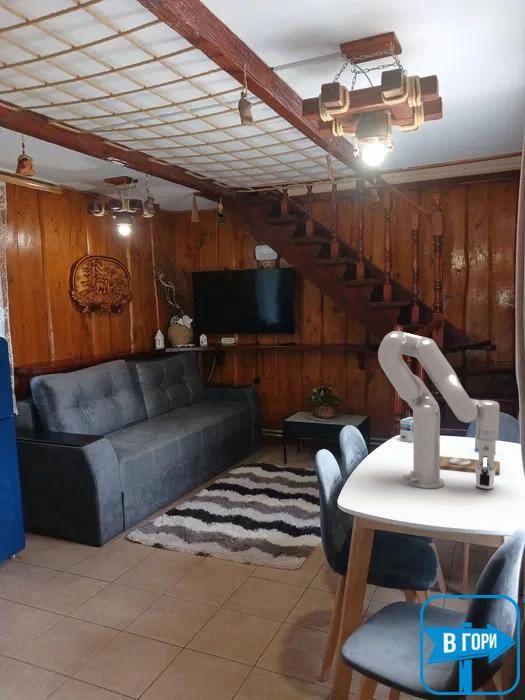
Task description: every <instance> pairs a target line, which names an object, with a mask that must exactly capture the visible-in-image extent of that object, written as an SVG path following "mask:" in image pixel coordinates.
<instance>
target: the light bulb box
mask: <svg viewBox="0 0 525 700" xmlns="http://www.w3.org/2000/svg"><path fill="white" fill-rule="evenodd" d="M399 425H400V426H399V427H400V428H399V438H400V442H405V443H412V444H413V416H408V417H404V418H402V419H400V421H399Z"/></svg>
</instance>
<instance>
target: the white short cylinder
mask: <svg viewBox="0 0 525 700" xmlns="http://www.w3.org/2000/svg"><path fill="white" fill-rule="evenodd" d="M482 466H483V465H482ZM487 466H488V465H487ZM475 469H476V473H475V485H476V487H478V488H481V489H493V487H494V483H495V482H494V481H495V476H496V475H495V470H496V469H495V468H494V467H493V468H492V467H490V466H489V475H490V479H489V486H484V485H480V474H481V466H479V465H476V466H475ZM487 470H488V468H487Z"/></svg>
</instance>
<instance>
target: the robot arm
mask: <svg viewBox="0 0 525 700" xmlns="http://www.w3.org/2000/svg"><path fill="white" fill-rule="evenodd" d="M402 355H405V356H409V357H413V358H416V359H417V360H418V362H419V364H420V366H422V368H423V369H424V371H425V372H426V374H427V376H428V377H429V378H430V380H431V382H432V383H433V384H434V386H435V388H436V389H437V390H438V392H439V393H440V394H441V396H442V397H443V399H444V400H445V401H446V403H447V405H448V407H449V408H450V409H451V411H452V413H453V414H454V415H455V417H456V418H457V420H458V421H460V422H463V423H467V424H468V423H469V424H470V423H472V422H474V421H476V423H475V426H476V427H475V433H476V438H477V439H479V452H478V460H479V466H481V474H480V485H484V486H489V479H490V475H489V466H490V467H492V468H493V467H494V461H495V456H496V455H495V454H496V444H495V441H498V440H499V425H500V424H499V423H500V403H499V402H498V401H495V400H489V399H482V400H480V399H474V398H470V397H469V395H468V393H467V392H466V390H465V389H464V387H463V386H462V384H461V382H460V380H459V377H458V375H457V373H456V371H455V370H454V369H453V367H452V366H451V364H450V363H449V362H448V360H447V359H446V357H445V356H444V354H443V353H442V351H441V350H440V348H439V347H438V345H437V343H436V342H435V340H433V339H432V338H429V337H425V336H420V335H417V334H411V333H408V332H404V331H400V330H393V331H391V332H389V333H387V334H386V335H385V336H384V337H383V339H382V341H381V343H380V344H379V347H378V352H377V357H378V359H377V360H378V362H379V365H380V367H381V369H382V370H383V372H384V374H385V375H386V377H387V379H388V380H389V382H390V383H391V384H392V386H393V387H394V389H395V390H396V392H397V394H398V395H399V397H400V398H401V399H402V400H404V402H406V403H407V404H408V406H409V407H410V408H411V409H412V417H413V443H412V444H413V445H412V446H413V451H412V452H413V454H412V455H413V456H412V457H413V462H412V463H413V470H410V474H404V475H402V480H403V481H405V482H406V481H409V484H410V485H412V486H414V487H416V488H420V489H421V488H422V489H438V488H442V487H444V485H445V481H444V480H443V479H442V478H441V477H440V476H441V474H440V473H441V469H440V456H441V453H440V452H441V450H440V447H441V443H440V441H441V439H440V437H441V436H440V434H441V433H440V431H441V412H440V406H439V403H438V402H437V401H436V399H435V397H434V396H433V394H432V393H431V392H430V390H429V388H428V387H427V386H426V385H425V383H424V381H423V380H422V379H421V378H420V377H419V376H418V375H415V374H414V373H413V372H412V370H411V369H410V368H409V366H408V364H407V362H405V361H404V358H403V356H402ZM482 465H483V466H482ZM487 465H488V466H487ZM487 468H488V470H487Z"/></svg>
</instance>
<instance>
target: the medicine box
mask: <svg viewBox="0 0 525 700" xmlns="http://www.w3.org/2000/svg"><path fill="white" fill-rule="evenodd" d="M474 435H475V436H474V438H475V441H474V451H475V452H476V451H479V439H477V438H476V432H475V434H474ZM496 441H497V440H496ZM496 441H495V445H496Z"/></svg>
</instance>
